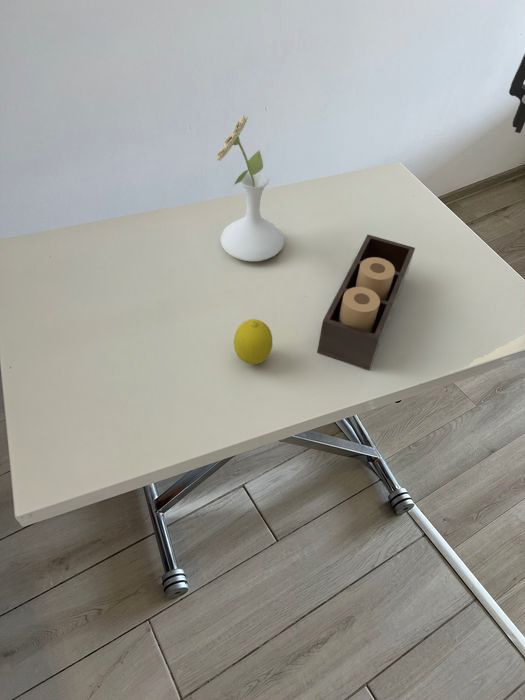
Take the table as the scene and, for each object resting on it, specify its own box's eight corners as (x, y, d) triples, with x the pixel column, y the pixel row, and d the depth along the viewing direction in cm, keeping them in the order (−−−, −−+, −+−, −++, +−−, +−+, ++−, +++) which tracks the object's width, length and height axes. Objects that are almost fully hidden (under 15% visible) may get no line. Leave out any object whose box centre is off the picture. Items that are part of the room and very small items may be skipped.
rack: (360, 265, 94) (367, 234, 89) (405, 279, 93) (415, 247, 87) (316, 352, 80) (322, 320, 75) (369, 370, 78) (378, 339, 73)
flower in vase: (248, 221, 102) (252, 87, 83) (295, 246, 97) (310, 110, 79) (201, 252, 95) (193, 113, 77) (249, 280, 90) (253, 140, 72)
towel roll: (367, 294, 88) (377, 252, 82) (389, 312, 85) (402, 270, 79) (344, 306, 86) (353, 264, 79) (366, 325, 83) (377, 283, 77)
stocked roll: (352, 323, 84) (362, 281, 77) (375, 343, 81) (388, 302, 74) (327, 336, 81) (335, 295, 75) (350, 357, 79) (361, 316, 72)
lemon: (241, 379, 76) (242, 341, 70) (228, 352, 79) (228, 313, 74) (276, 369, 78) (280, 331, 72) (262, 343, 81) (265, 304, 75)
